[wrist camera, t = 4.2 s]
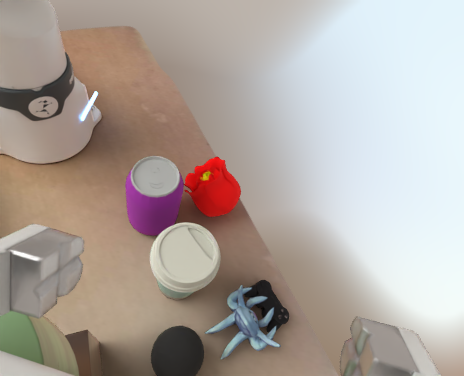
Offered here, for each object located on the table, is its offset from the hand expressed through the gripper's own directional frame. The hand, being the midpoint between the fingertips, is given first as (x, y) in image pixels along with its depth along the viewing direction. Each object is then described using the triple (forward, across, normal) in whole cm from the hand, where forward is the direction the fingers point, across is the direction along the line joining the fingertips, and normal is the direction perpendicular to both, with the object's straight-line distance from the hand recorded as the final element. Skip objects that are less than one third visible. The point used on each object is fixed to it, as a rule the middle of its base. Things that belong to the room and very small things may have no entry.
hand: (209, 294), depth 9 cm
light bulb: (+24, +5, +30) cm, 38 cm away
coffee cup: (+32, +9, +22) cm, 40 cm away
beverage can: (+37, +16, +16) cm, 44 cm away
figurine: (+31, -3, +26) cm, 41 cm away
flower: (+42, +5, +13) cm, 44 cm away
